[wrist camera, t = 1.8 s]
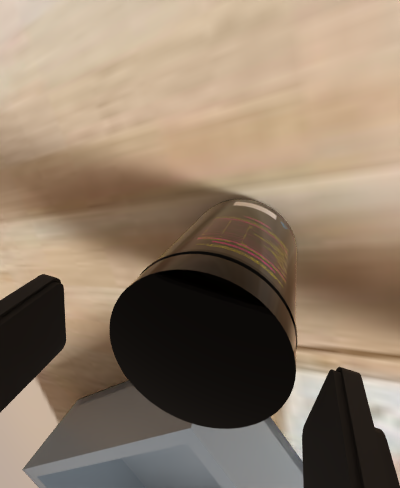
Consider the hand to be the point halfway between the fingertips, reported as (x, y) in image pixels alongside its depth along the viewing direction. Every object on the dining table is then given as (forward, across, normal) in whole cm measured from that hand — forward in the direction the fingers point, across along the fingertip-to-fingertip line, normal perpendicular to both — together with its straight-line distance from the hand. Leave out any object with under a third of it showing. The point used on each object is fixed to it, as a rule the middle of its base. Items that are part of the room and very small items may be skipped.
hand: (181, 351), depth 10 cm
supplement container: (+11, -1, 0) cm, 11 cm away
